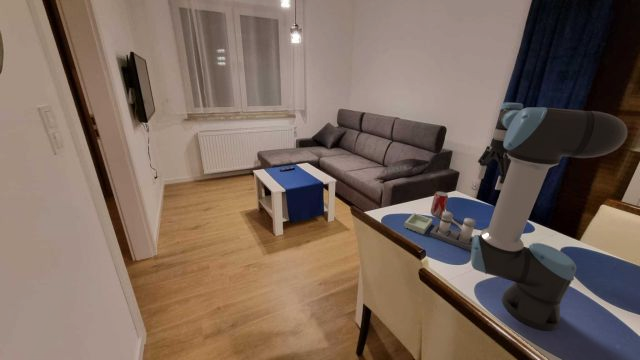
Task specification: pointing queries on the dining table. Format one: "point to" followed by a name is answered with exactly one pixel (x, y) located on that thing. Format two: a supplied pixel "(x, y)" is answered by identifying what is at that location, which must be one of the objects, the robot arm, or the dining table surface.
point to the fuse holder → (457, 234)
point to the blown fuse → (445, 223)
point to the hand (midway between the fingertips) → (488, 183)
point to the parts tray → (418, 223)
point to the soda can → (439, 203)
